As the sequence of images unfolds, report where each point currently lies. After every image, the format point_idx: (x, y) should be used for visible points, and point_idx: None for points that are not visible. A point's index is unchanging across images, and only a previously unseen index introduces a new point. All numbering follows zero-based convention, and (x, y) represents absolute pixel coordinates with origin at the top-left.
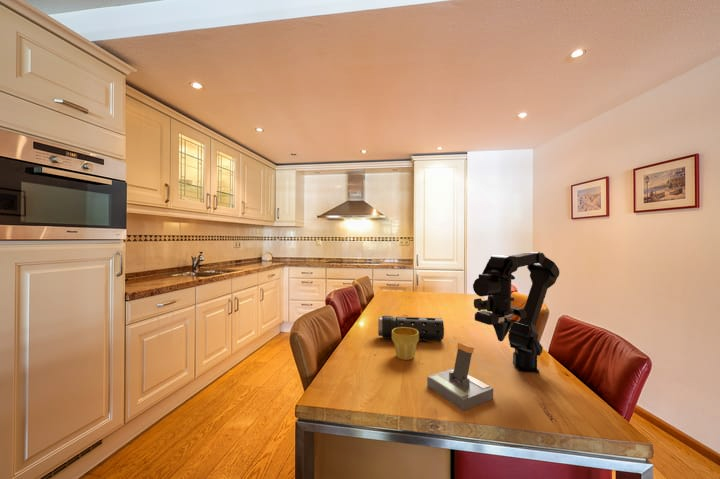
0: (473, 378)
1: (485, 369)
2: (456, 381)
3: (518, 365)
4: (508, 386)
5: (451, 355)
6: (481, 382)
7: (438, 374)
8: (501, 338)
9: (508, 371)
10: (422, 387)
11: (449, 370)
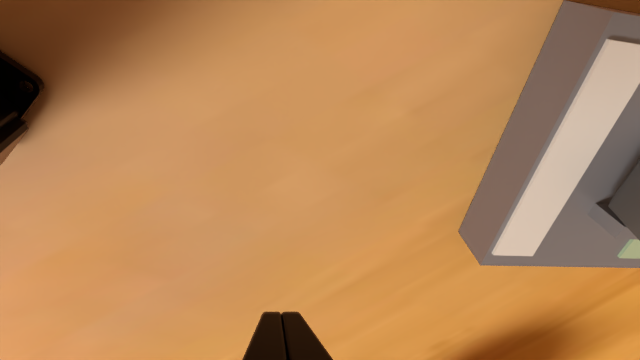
0: (557, 152)
1: (251, 208)
2: None
3: (7, 114)
4: (342, 17)
5: None
6: (583, 98)
7: (601, 258)
8: (324, 348)
9: (134, 124)
10: None
11: (528, 260)
